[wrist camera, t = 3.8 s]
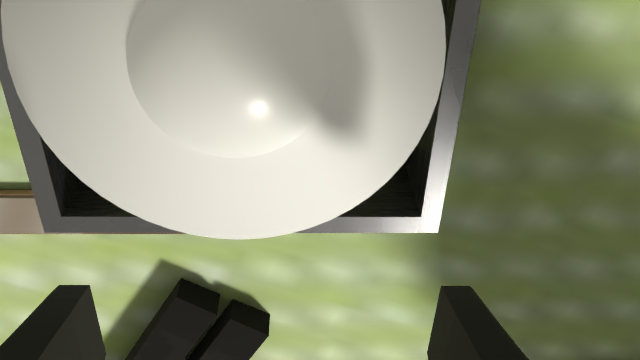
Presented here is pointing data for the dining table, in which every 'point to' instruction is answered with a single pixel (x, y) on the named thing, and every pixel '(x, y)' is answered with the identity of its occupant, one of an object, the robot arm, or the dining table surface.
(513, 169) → the dining table surface
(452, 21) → the grey shallow square box
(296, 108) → the white dimpled thick disc
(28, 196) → the bar
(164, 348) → the toy
